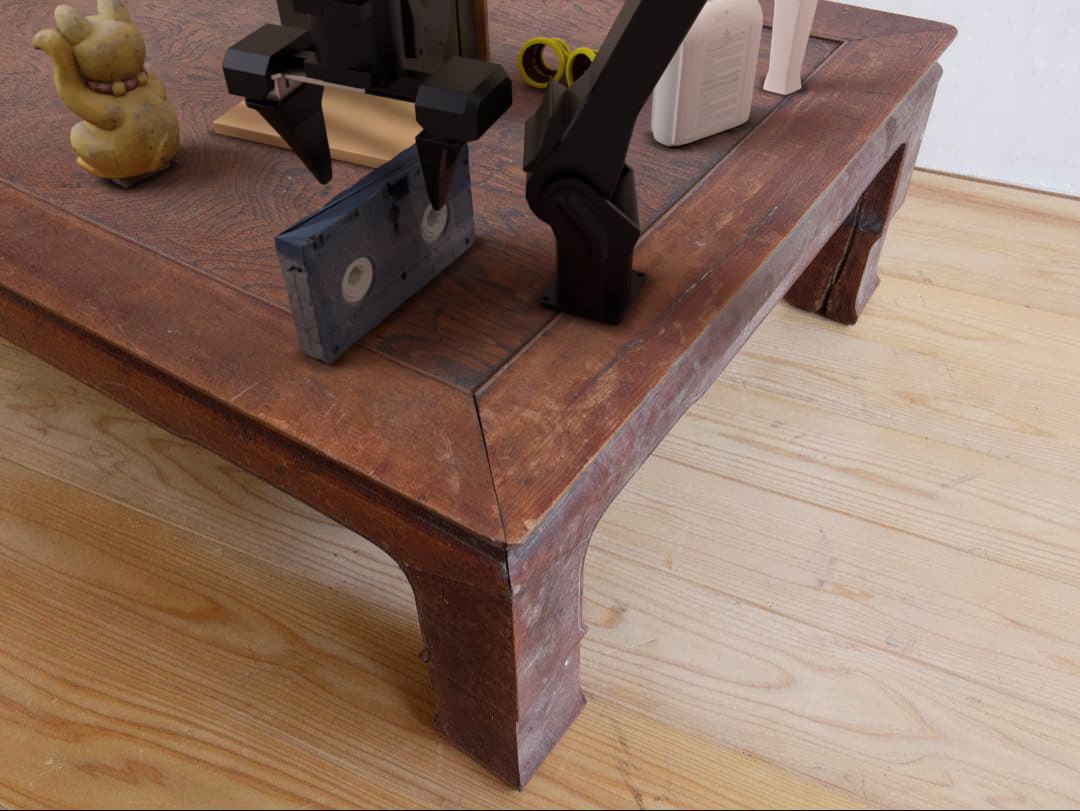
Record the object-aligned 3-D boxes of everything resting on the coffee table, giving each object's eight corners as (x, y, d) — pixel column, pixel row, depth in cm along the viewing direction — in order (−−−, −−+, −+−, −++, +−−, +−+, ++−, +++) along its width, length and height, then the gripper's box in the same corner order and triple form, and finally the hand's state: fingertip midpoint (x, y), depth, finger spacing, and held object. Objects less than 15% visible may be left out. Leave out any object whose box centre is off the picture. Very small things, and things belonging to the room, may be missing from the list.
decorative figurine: (148, 136, 94) (97, -25, 84) (213, 155, 91) (169, -9, 81) (70, 182, 88) (5, 15, 78) (137, 204, 85) (79, 34, 75)
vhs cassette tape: (453, 232, 81) (442, 121, 74) (481, 243, 80) (473, 131, 73) (295, 353, 70) (266, 235, 63) (325, 368, 69) (299, 249, 62)
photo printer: (725, 106, 97) (741, -23, 88) (755, 123, 94) (774, -8, 86) (643, 135, 93) (651, 3, 84) (672, 153, 90) (683, 19, 82)
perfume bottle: (811, 82, 100) (839, -74, 90) (794, 99, 97) (821, -60, 87) (769, 72, 102) (792, -82, 92) (751, 88, 99) (773, -69, 89)
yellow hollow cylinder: (621, 96, 100) (627, 45, 98) (596, 107, 96) (602, 55, 94) (541, 75, 104) (545, 26, 101) (514, 84, 100) (517, 34, 98)
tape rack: (415, 177, 88) (401, 55, 80) (215, 133, 94) (184, 17, 87) (501, 92, 100) (495, -21, 92) (317, 58, 106) (298, -50, 99)
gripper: (545, -59, 61) (548, 166, 72) (294, -92, 67) (331, 121, 77) (463, 7, 54) (481, 246, 64) (189, -37, 59) (247, 189, 70)
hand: (381, 194), depth 69 cm, fingers open, 9 cm apart
